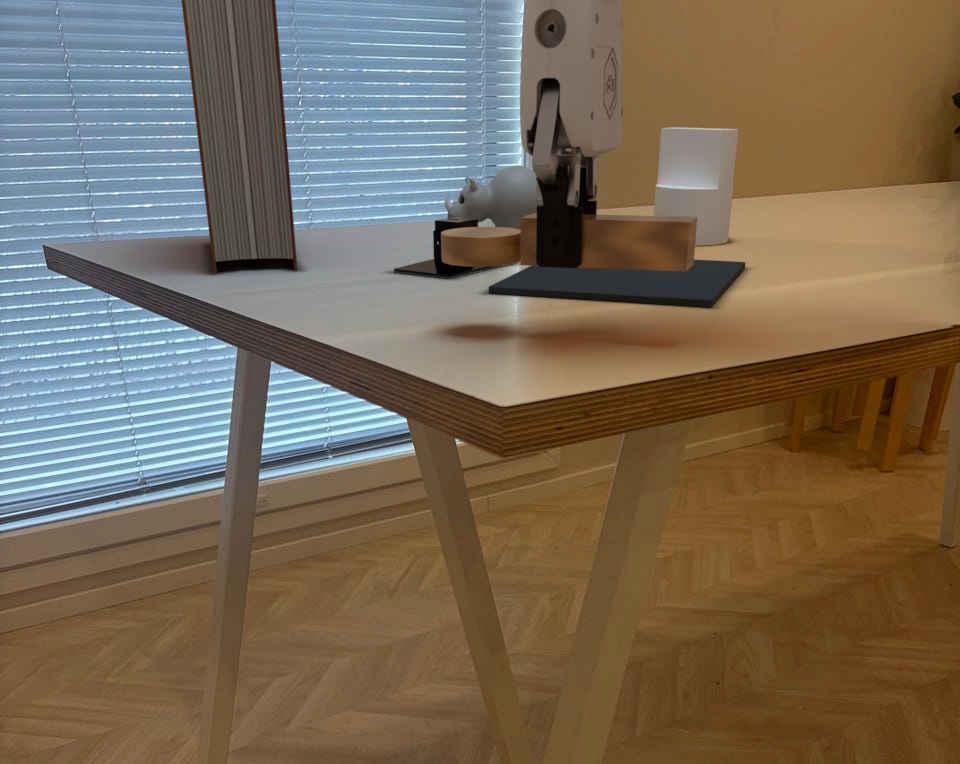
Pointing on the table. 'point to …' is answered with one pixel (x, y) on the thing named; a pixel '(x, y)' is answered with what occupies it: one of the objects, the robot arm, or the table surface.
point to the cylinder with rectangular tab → (697, 179)
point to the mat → (626, 283)
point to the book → (241, 127)
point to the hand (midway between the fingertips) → (566, 260)
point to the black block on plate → (436, 265)
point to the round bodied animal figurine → (498, 198)
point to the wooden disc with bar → (602, 243)
